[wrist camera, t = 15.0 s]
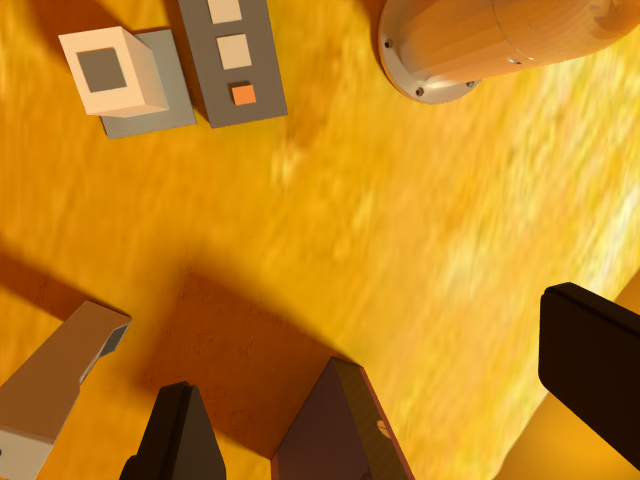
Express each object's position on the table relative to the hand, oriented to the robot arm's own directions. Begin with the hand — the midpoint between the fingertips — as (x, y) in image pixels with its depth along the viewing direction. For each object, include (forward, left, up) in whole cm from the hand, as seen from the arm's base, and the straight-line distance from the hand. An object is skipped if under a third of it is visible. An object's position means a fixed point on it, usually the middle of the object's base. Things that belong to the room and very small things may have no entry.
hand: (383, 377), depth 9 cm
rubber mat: (+11, -12, -30) cm, 34 cm away
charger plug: (+11, -12, -30) cm, 34 cm away
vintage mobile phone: (+22, +10, -31) cm, 39 cm away
